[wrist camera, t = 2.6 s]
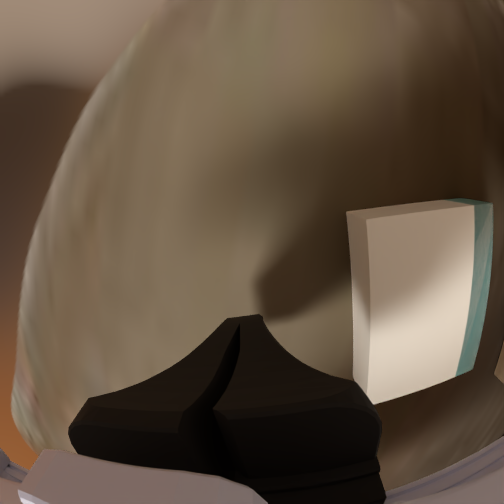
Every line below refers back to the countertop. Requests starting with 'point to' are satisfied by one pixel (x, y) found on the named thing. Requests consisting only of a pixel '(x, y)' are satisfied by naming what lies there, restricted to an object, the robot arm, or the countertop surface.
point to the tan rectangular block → (500, 366)
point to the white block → (418, 292)
